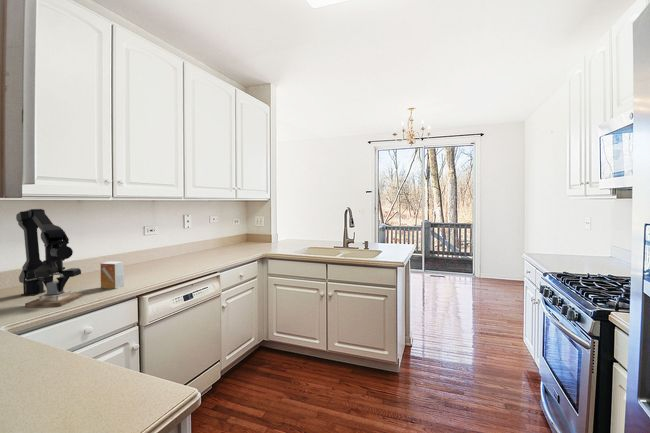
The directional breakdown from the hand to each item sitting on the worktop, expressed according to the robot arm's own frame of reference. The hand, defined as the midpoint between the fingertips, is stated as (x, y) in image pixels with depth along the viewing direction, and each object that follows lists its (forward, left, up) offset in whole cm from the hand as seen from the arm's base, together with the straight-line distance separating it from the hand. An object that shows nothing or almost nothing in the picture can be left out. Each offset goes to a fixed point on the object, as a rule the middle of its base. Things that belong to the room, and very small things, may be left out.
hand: (55, 291), depth 139 cm
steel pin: (0, 0, -2) cm, 2 cm away
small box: (+12, +22, -4) cm, 25 cm away
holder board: (0, 0, -4) cm, 4 cm away
